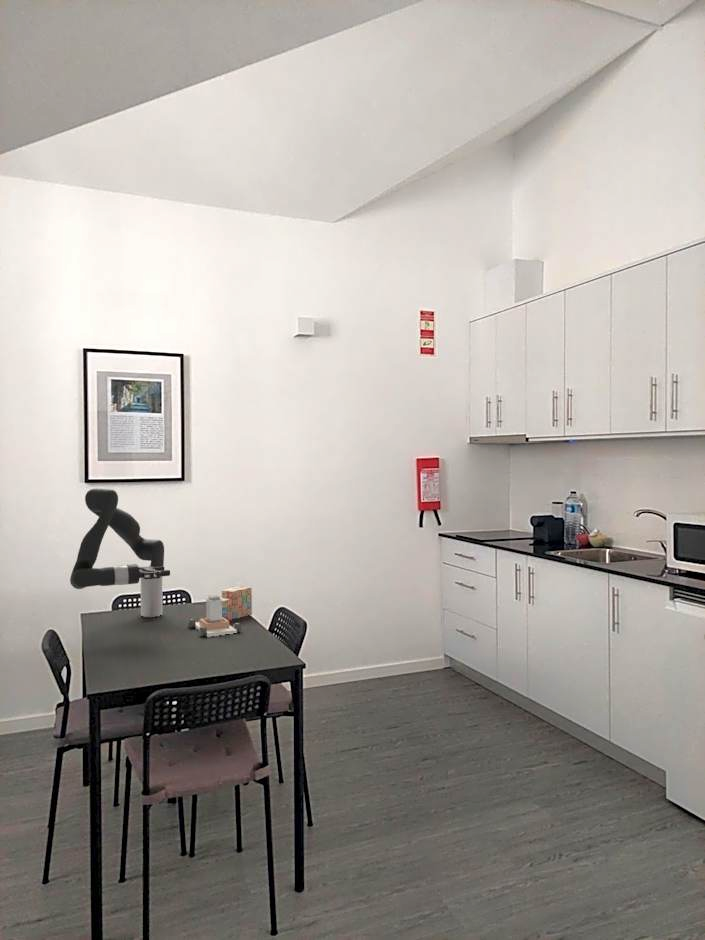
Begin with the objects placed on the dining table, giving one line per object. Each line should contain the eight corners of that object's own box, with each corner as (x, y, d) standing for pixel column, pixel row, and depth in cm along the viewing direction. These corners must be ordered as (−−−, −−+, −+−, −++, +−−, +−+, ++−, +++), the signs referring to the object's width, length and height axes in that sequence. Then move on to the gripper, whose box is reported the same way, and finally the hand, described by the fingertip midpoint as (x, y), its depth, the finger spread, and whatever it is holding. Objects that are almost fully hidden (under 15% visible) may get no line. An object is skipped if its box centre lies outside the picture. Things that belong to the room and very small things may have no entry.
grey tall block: (206, 625, 301) (206, 596, 301) (218, 624, 304) (218, 595, 304) (210, 628, 297) (210, 598, 297) (222, 626, 299) (222, 597, 299)
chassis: (187, 626, 305) (187, 617, 305) (225, 622, 313) (225, 613, 313) (202, 637, 288) (202, 627, 288) (241, 633, 296) (241, 623, 295)
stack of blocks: (217, 624, 310) (216, 595, 310) (206, 622, 314) (206, 593, 314) (252, 614, 328) (251, 586, 328) (241, 613, 332) (241, 585, 331)
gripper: (129, 568, 282) (171, 564, 290) (121, 562, 295) (162, 558, 303) (129, 587, 283) (172, 583, 291) (121, 581, 295) (162, 577, 303)
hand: (166, 570), depth 297 cm, fingers open, 8 cm apart
